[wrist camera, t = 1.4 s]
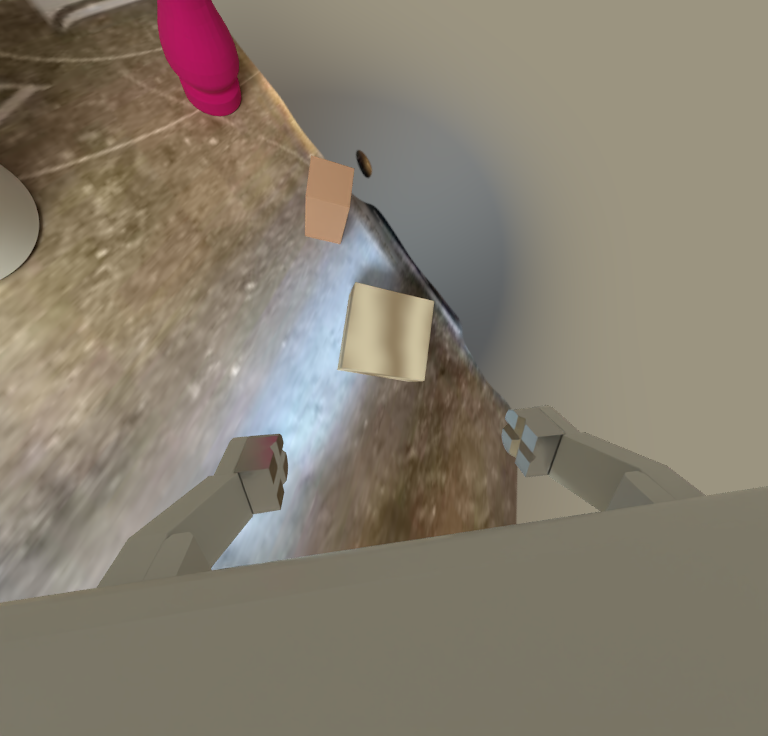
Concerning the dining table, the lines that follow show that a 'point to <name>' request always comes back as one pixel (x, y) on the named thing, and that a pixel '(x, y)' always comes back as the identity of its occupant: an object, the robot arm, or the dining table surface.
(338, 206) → the terracotta block
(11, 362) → the dining table surface
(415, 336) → the birch block
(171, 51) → the pepper mill
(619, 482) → the robot arm
